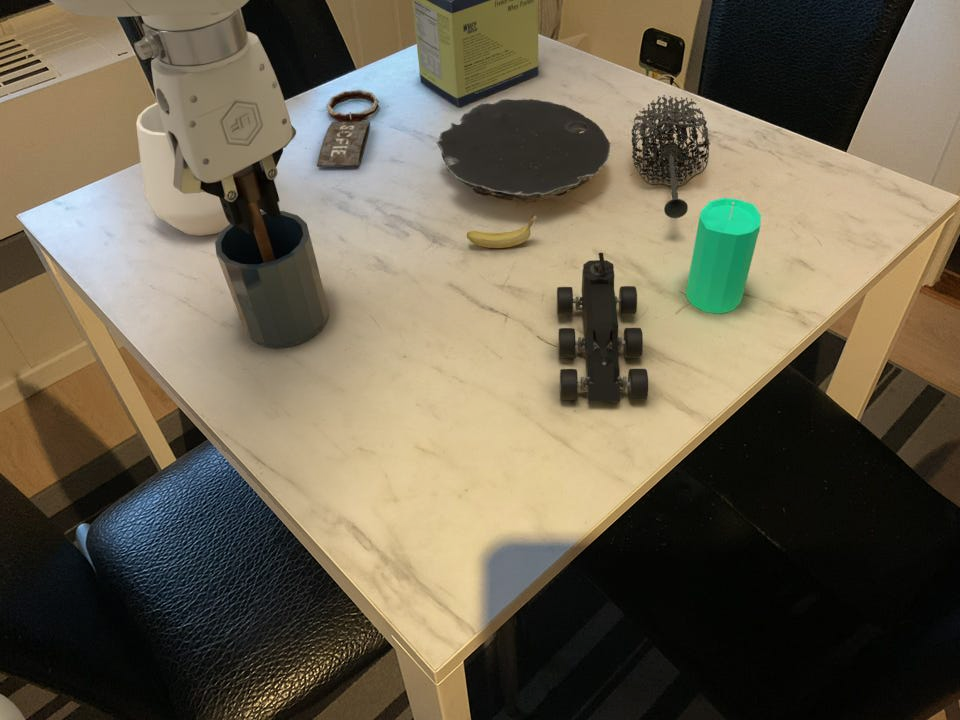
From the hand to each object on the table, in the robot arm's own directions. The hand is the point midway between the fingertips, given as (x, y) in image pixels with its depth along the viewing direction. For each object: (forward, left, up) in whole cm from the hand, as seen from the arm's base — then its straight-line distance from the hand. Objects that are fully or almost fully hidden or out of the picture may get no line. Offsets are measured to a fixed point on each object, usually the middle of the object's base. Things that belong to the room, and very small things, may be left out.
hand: (256, 217), depth 78 cm
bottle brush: (0, 0, -12) cm, 12 cm away
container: (0, 0, -13) cm, 13 cm away
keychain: (+13, +36, -14) cm, 41 cm away
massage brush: (+49, +8, -14) cm, 51 cm away
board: (+33, +17, -14) cm, 39 cm away
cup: (-7, +23, -14) cm, 28 cm away
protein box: (+35, +44, -14) cm, 58 cm away
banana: (+26, +4, -14) cm, 30 cm away
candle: (+45, -12, -14) cm, 48 cm away
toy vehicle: (+30, -16, -14) cm, 37 cm away
